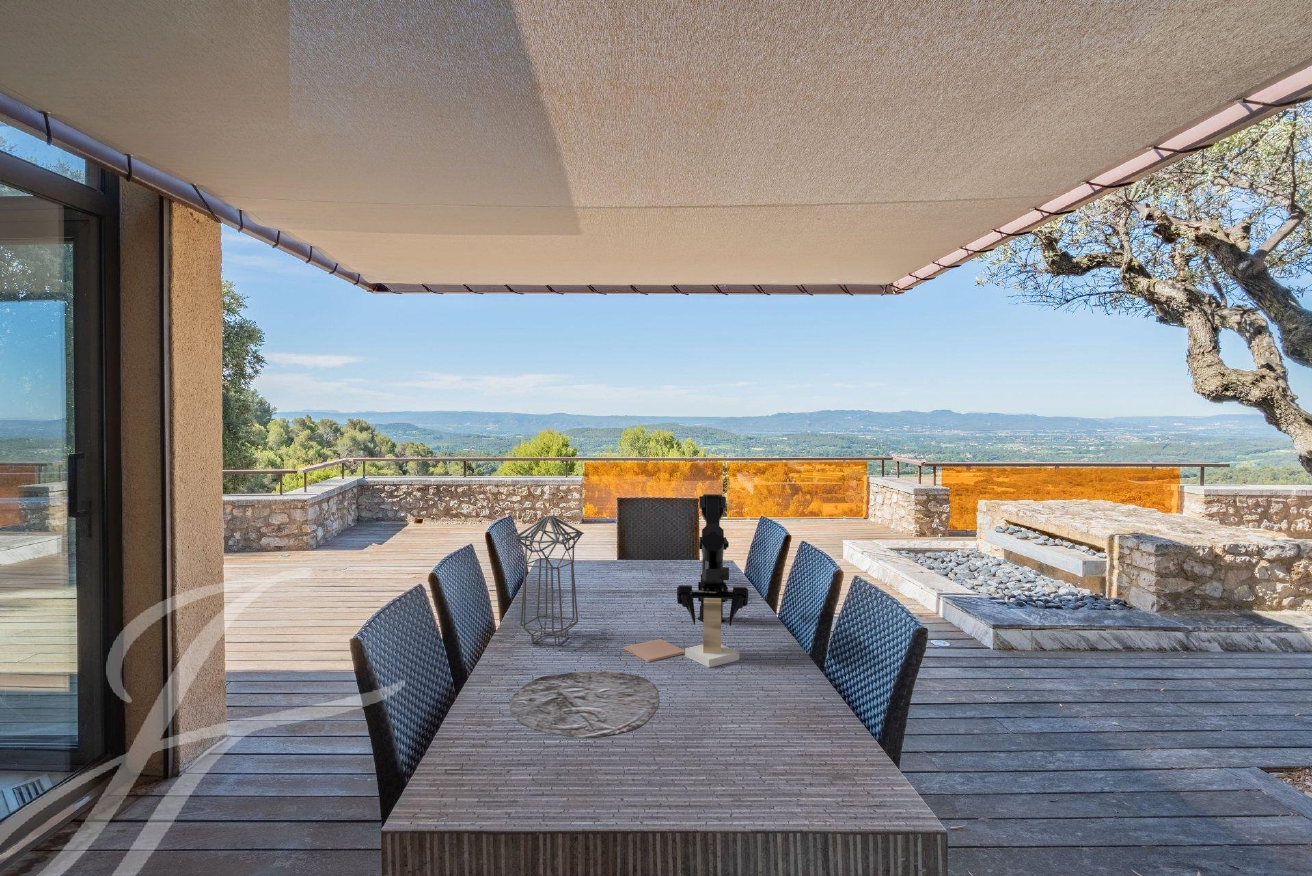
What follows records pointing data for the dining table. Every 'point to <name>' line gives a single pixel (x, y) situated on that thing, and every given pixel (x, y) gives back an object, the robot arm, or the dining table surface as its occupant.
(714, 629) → the oak block
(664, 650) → the terracotta tile
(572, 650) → the dining table surface
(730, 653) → the white square tile
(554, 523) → the geometric lantern
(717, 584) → the robot arm
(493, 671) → the dining table surface
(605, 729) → the worn metal disc
